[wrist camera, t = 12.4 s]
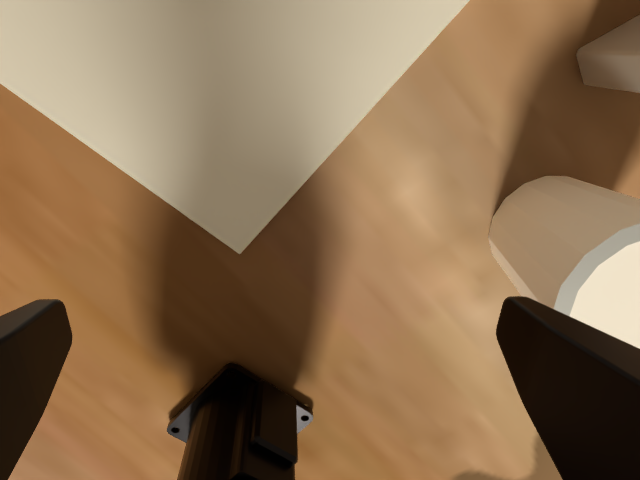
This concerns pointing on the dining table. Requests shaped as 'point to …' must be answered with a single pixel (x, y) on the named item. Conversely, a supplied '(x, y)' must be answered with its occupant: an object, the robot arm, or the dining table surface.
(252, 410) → the robot arm
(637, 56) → the lighter
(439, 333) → the dining table surface
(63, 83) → the mat
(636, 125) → the dining table surface
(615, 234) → the white cylinder
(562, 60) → the dining table surface
